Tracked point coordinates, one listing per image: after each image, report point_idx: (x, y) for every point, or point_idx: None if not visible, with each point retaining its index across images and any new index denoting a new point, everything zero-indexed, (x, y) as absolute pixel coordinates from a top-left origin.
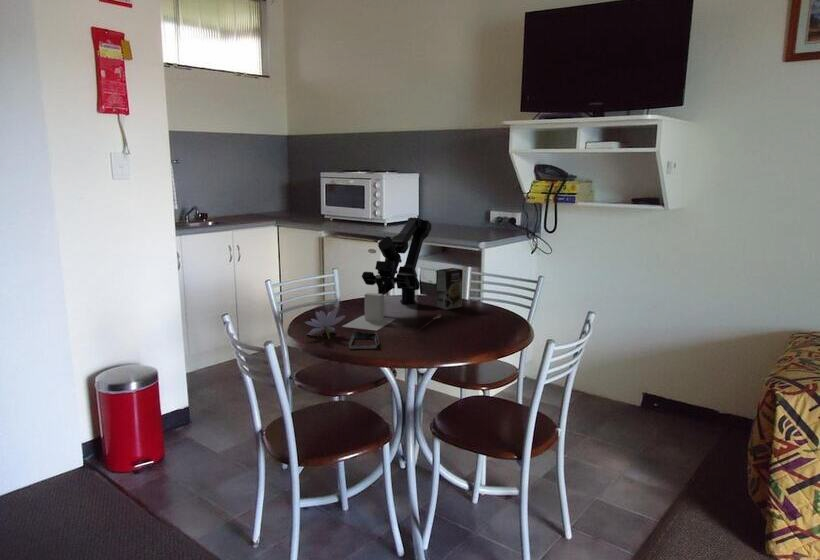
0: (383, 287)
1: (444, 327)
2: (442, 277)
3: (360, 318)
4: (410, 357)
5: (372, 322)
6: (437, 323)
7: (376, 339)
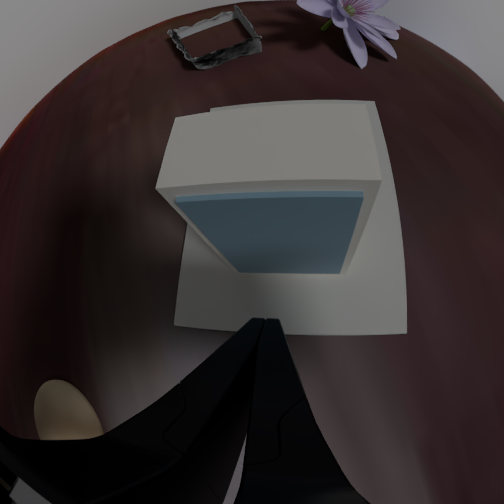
0: (190, 408)
1: (19, 269)
2: None
3: (384, 248)
4: (113, 51)
5: None
6: (31, 315)
7: (179, 41)
